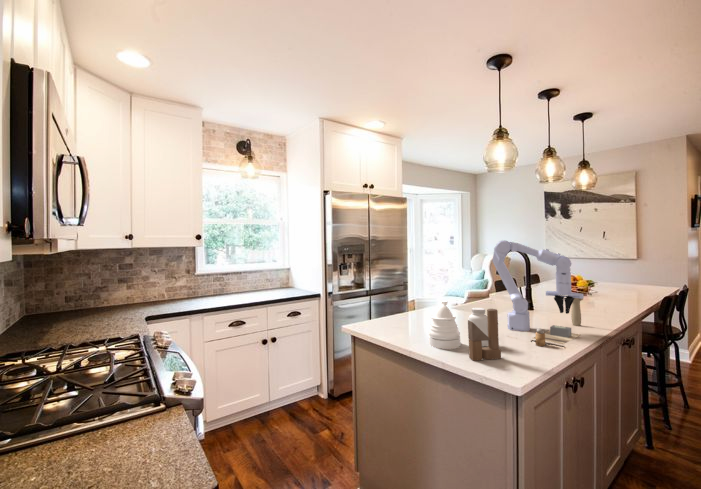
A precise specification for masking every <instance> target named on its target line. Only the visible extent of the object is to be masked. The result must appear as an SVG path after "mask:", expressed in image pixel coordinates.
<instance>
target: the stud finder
mask: <svg viewBox="0 0 701 489" xmlns="http://www.w3.org/2000/svg"><path fill="white" fill-rule="evenodd" d="M549 331H550V335H554V336H561V337H567V338H569V337H571V336H572V333H573V332H572V327H568V326H563V325H554V324H553V325H551V326H550V327H549Z"/></svg>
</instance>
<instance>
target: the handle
mask: <svg viewBox="0 0 701 489" xmlns="http://www.w3.org/2000/svg"><path fill="white" fill-rule="evenodd" d="M583 300H584V298H582V299H580V298H574V301H573V302H572V304H571V324H572V326H575V327H581V326H582V310H581V302H582V301H583Z"/></svg>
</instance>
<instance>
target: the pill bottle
mask: <svg viewBox="0 0 701 489" xmlns="http://www.w3.org/2000/svg"><path fill="white" fill-rule="evenodd" d="M468 320H469V321H471V322H473V323H474V324H475V325H476V326H477V327H478V328H479V329H480V330H481V331H482V332H483V333H484V334H485V335H487V336H488V322H487V314H486V309H485V308H484V307H472V308H471V314H470V315H469V316H468ZM483 347H488V340H485V341H482V348H483Z"/></svg>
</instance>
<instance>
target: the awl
mask: <svg viewBox="0 0 701 489" xmlns="http://www.w3.org/2000/svg"><path fill="white" fill-rule="evenodd" d="M535 337H536V339H535V340H536V342H535V346H536V347H546V344H545V342H546V341H545V332H544V329H543V328H536V332H535Z"/></svg>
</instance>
